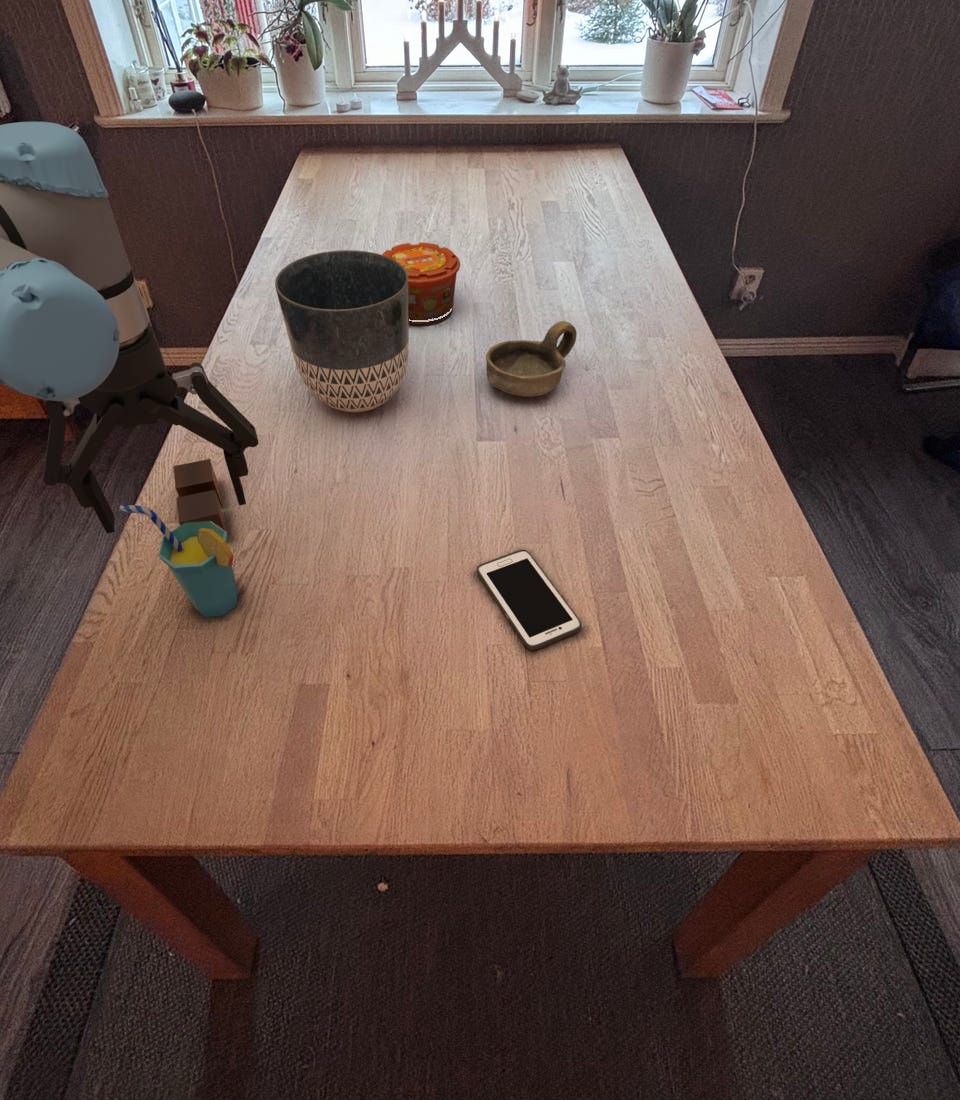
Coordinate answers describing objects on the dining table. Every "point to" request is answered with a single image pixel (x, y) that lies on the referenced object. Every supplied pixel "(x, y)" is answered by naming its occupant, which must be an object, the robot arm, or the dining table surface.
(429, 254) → the food container
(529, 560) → the cell phone
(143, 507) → the cup
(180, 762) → the dining table surface
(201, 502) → the walnut block near
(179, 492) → the walnut block far
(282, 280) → the planter
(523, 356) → the bowl
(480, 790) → the dining table surface
